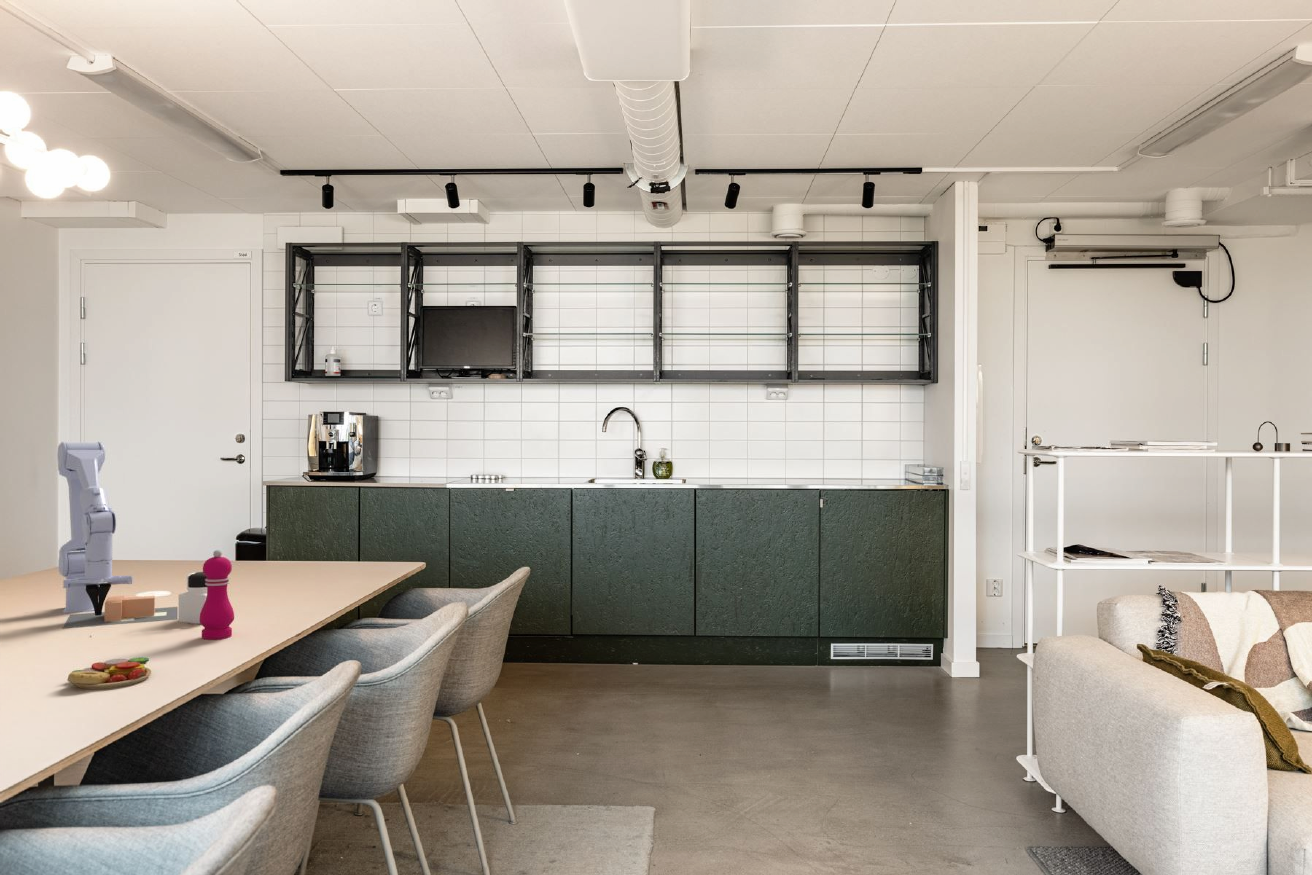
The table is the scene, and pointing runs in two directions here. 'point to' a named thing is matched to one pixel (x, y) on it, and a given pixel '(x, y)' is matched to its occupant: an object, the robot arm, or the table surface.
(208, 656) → the table surface
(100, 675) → the toy food set
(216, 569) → the pepper mill
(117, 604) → the t block
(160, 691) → the table surface
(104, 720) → the table surface
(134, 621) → the mat
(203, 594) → the medicine bottle
